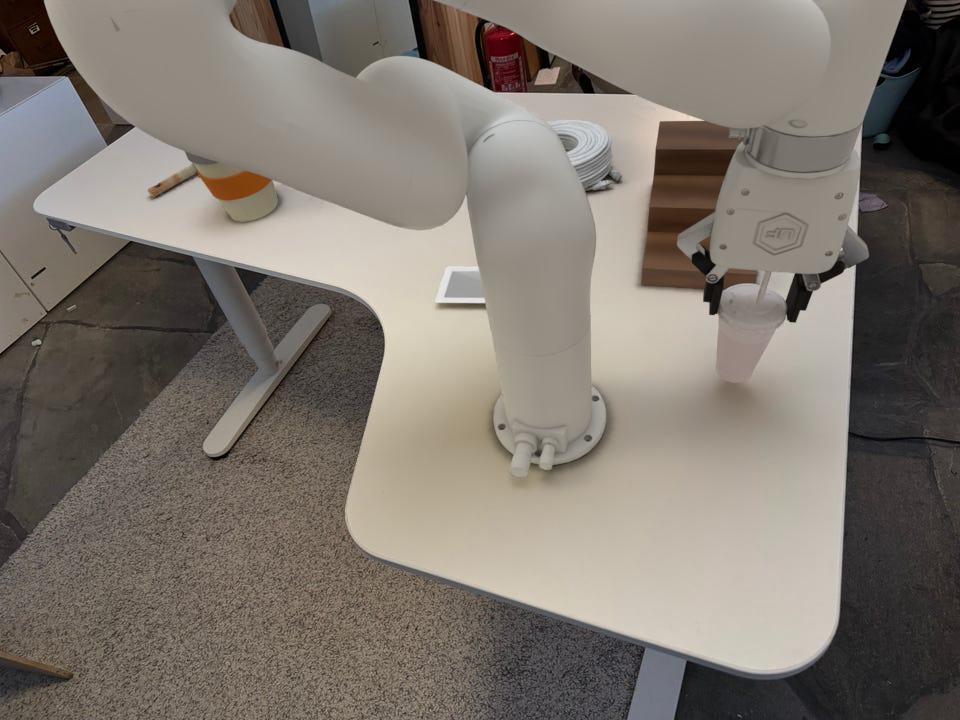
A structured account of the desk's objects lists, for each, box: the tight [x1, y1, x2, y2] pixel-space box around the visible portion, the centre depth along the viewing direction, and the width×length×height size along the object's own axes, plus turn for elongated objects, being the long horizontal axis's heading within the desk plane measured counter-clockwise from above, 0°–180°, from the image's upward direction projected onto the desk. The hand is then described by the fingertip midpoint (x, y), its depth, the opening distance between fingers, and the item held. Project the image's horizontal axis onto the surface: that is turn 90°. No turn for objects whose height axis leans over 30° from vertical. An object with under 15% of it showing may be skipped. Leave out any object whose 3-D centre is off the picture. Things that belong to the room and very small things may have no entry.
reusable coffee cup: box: [184, 151, 279, 223], centre depth 105 cm, size 13×13×15 cm
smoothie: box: [715, 271, 787, 384], centre depth 61 cm, size 6×6×14 cm
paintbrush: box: [147, 162, 197, 198], centre depth 122 cm, size 4×3×20 cm
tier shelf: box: [640, 120, 759, 291], centre depth 83 cm, size 24×14×11 cm, turn 165°
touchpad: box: [434, 265, 486, 304], centre depth 84 cm, size 8×15×2 cm, turn 80°
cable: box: [546, 119, 623, 192], centre depth 101 cm, size 18×18×6 cm
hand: (751, 308), depth 59 cm, fingers closed on smoothie, 6 cm apart
